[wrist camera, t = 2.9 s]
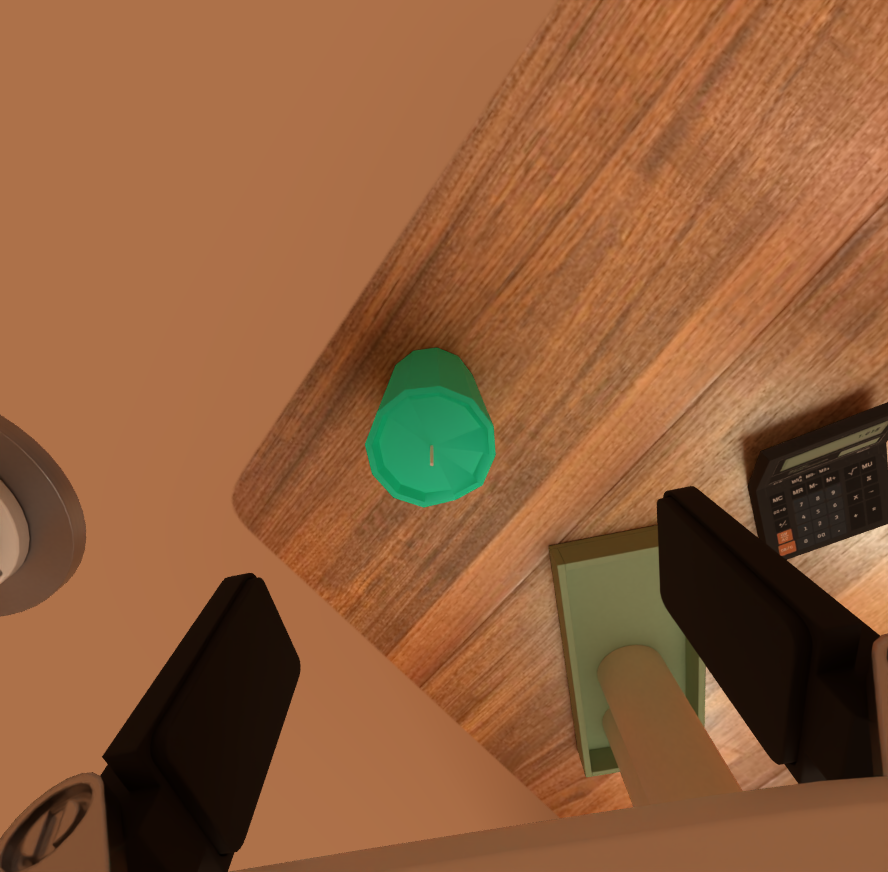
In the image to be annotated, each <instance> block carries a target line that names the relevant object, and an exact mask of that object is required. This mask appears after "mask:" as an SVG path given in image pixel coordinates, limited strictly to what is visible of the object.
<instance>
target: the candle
mask: <svg viewBox="0 0 888 872" xmlns="http://www.w3.org/2000/svg"><path fill="white" fill-rule="evenodd" d="M365 447H366V451H367V455H368V459H369V463H370V468H371V472H372V474H373V476H374V477H375V478H376V479H377V480H378V481H379V482H380V483H381V484H382V486H383V487H384V488H385V489H386V490H387V491H388V492H389V493H390V494H391V496H392V497H393V498H396V499H399V500H402V501H405V502H408V503H412V504H415V505H418V506H421V507H428V506H432V505H437V504H441V503H445V502H449V501H453V500H456V499H458V498H460V497H462V496H464V495H466V494H467V493H469V492H471V491H473V490H475V489H477V488H478V487H480V486H482V485H483V483H484V481H485V478H486V476H487V474H488V471H489V469H490V467H491V465H492V462H493V460H494V458H495V455H496V454H495V439H494V426H493V424H492V421H491V419H490V416H489V414H488V411H487V409H486V407H485V404H484V402H483V399H482V397H481V395H480V392H479V390H478V387H477V385H476V382H475V380H474V378H473V375H472V374H471V372H470V371H469V370H468V368H467V367H466V366H465V364H464V363H463V362H462V360H461V359H460V358H459V356H457V355H454V354H452V353H449V352H447V351H444V350H442V349H440V348H437V347H436V348H429V349H422V350H414V351H413V352H411V353H410V354H409V355H407V356H406V357H405V358H404V359H402V360H401V361H400V362H399V363H397V364H396V365H395V368H394V370H393V373H392V375H391V378H390V380H389V383H388V386H387V388H386V391H385V393H384V396H383V398H382V401H381V404H380V406H379V409H378V411H377V414H376V416H375V419H374V422H373V424H372V427H371V430H370V432H369V435H368V438H367V440H366V443H365Z"/></svg>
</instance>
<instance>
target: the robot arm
mask: <svg viewBox="0 0 888 872" xmlns="http://www.w3.org/2000/svg"><path fill="white" fill-rule="evenodd" d="M657 523H658V551H659V578H660V595H661V599H662V601H663V604H664V606H665V608H666V609H667V611H668V612H669V614H670V615H671V617H672V618H673V619H674V621H675V622H676V624H677V625H678V627H679V628H680V629H681V631H682V632H683V634H684V635H685V637H686V638H687V640H688V641H689V642H690V644H691V645H692V647H693V648H694V650H695V651H696V652H697V654H698V655H699V657H700V658H701V660H702V661H703V662H704V664H705V665H706V667H707V668H708V670H709V671H710V672H711V674H712V675H713V677H714V678H715V680H716V681H717V683H718V684H719V685H720V687H721V688H722V690H723V691H724V693H725V694H726V695H727V697H728V698H729V700H730V701H731V703H732V704H733V705H734V707H735V708H736V710H737V711H738V713H739V714H740V716H741V717H742V718H743V720H744V721H745V723H746V724H747V726H748V727H749V728H750V730H751V731H752V733H753V734H754V736H755V737H756V738H757V740H758V741H759V743H760V744H761V746H762V747H763V749H764V750H765V751H766V753H767V754H768V755H769V757H770V758H771V759H772V760H773V761H774V762H775V763H777V764H778V765H780V764H785V766H786V767H787V768H788V770H789V771H790V772H791V774H792V775H793V777H794V778H795V779H796V781H797V782H798V784H795V785H788V786H780V787H772V788H765V789H757V790H750V791H742V792H734V793H727V794H719V795H712V796H705V797H699V798H692V799H686V800H679V801H672V802H666V803H659V804H653V805H646V806H639V807H633V808H626V809H620V810H613V811H606V812H600V813H593V814H587V815H580V816H574V817H567V818H560V819H554V820H547V821H541V822H535V823H528V824H522V825H516V826H509V827H503V828H497V829H490V830H484V831H478V832H471V833H465V834H459V835H453V836H446V837H440V838H433V839H427V840H421V841H415V842H408V843H402V844H396V845H389V846H384V847H377V848H371V849H365V850H358V851H352V852H346V853H341V854H334V855H328V856H322V857H316V858H310V859H304V860H298V861H292V862H286V863H279V864H274V865H268V866H262V867H255V868H249V869H243V870H237V871H231V872H888V634H884V635H881V636H880V635H878V634H877V633H876V632H875V631H873V630H872V629H871V628H870V627H869V626H867V625H866V624H865V623H864V622H862V621H861V620H860V619H859V618H857V617H856V616H855V615H854V614H852V613H851V612H850V611H849V610H848V609H846V608H845V607H844V606H843V605H841V604H840V603H839V602H838V601H836V600H835V599H834V598H833V597H831V596H830V595H829V594H828V593H826V592H825V591H824V590H823V589H822V588H820V587H819V586H818V585H817V584H815V583H814V582H813V581H812V580H810V579H809V578H808V577H807V576H805V575H804V574H803V573H802V572H801V571H799V570H798V569H797V568H796V567H794V566H793V565H792V564H791V563H789V562H788V561H787V560H786V559H784V558H783V557H782V556H781V555H779V554H778V553H777V552H776V551H775V550H773V549H772V548H771V547H770V546H768V545H767V544H766V543H765V542H763V541H761V540H760V539H759V538H757V537H756V536H755V535H754V534H753V533H751V532H750V531H749V530H748V529H746V528H745V527H744V526H743V525H741V524H740V523H739V522H738V521H737V520H735V519H734V518H733V517H732V516H730V515H729V514H728V513H727V512H725V511H724V510H723V509H722V508H720V507H719V506H718V505H717V504H716V503H714V502H713V501H712V500H711V499H709V498H708V497H707V496H706V495H704V494H703V493H702V492H701V491H700V490H698V489H697V488H695V487H694V486H689V487H684V488H679V489H674V490H669V491H666V492H665V493H664V496H663V498H662V499H659V500H658V501H657ZM29 540H30V538H29V530H28V524H27V521H26V518H25V516H24V513H23V510H22V508H21V507H20V505H19V503H18V502H17V500H16V498H15V497H14V495H13V494H12V492H11V491H10V490H9V489H8V488H7V486H6V485H5V484H4V483H3V482H2V481H1V480H0V584H1V583H2V582H4V581H5V580H6V579H8V578H9V577H10V576H12V575H13V574H14V573H16V571H17V570H18V569H19V568H20V566H21V565H22V564H23V563H24V560H25V558H26V556H27V553H28V548H29ZM299 675H300V660H299V657H298V655H297V653H296V650H295V648H294V646H293V644H292V642H291V639H290V637H289V635H288V633H287V631H286V628H285V626H284V624H283V622H282V620H281V617H280V615H279V613H278V611H277V609H276V606H275V604H274V602H273V600H272V598H271V596H270V593H269V591H268V589H267V587H266V585H265V582H264V581H263V580H262V578H257V577H256V576H255V575H254V574H253V573H247V574H241V575H237V576H231V577H227V578H225V579H224V580H223V581H222V583H221V584H220V585H219V587H218V588H217V590H216V591H215V593H214V594H213V596H212V597H211V599H210V600H209V602H208V603H207V605H206V606H205V607H204V609H203V610H202V612H201V613H200V615H199V616H198V618H197V619H196V621H195V622H194V623H193V625H192V626H191V628H190V629H189V631H188V632H187V634H186V635H185V637H184V638H183V639H182V641H181V642H180V644H179V645H178V647H177V648H176V650H175V651H174V653H173V654H172V656H171V657H170V658H169V660H168V661H167V663H166V664H165V666H164V667H163V669H162V670H161V671H160V673H159V675H158V676H157V677H156V679H155V680H154V682H153V683H152V685H151V686H150V688H149V689H148V690H147V692H146V693H145V695H144V696H143V698H142V699H141V701H140V702H139V704H138V705H137V706H136V708H135V710H134V711H133V712H132V714H131V715H130V717H129V718H128V720H127V721H126V723H125V724H124V726H123V727H122V729H121V730H120V731H119V733H118V734H117V736H116V737H115V739H114V740H113V742H112V743H111V744H110V746H109V747H108V749H107V750H106V752H105V753H104V755H103V756H102V757H103V759H104V760H105V761H106V762H107V764H108V765H107V766H106V768H105V770H104V771H103V773H102V774H101V776H99V775H97V774H95V773H93V772H92V773H81V774H78V775H76V776H73V777H70V778H68V779H66V780H64V781H63V782H61V783H59V784H57V785H56V786H54V787H52V788H51V789H50V790H48V791H47V792H45V793H44V794H43V795H41V796H40V797H39V798H38V799H36V800H35V801H34V802H33V803H32V804H31V805H30V806H29V807H27V809H25V810H24V811H23V812H22V813H21V814H20V815H19V816H18V817H17V818H16V819H15V821H14V822H13V823H12V824H11V826H10V827H9V828H8V829H7V830H6V832H5V833H4V834H3V835H2V837H1V838H0V872H228V869H229V866H230V864H231V861H232V858H233V855H234V852H237V851H238V850H239V849H240V848H241V846H242V845H243V843H244V840H245V838H246V835H247V832H248V829H249V826H250V823H251V820H252V817H253V814H254V811H255V808H256V805H257V802H258V799H259V796H260V793H261V790H262V787H263V784H264V780H265V778H266V775H267V771H268V769H269V766H270V762H271V760H272V756H273V754H274V750H275V748H276V745H277V742H278V739H279V736H280V733H281V730H282V727H283V724H284V721H285V718H286V715H287V711H288V709H289V705H290V703H291V699H292V696H293V693H294V690H295V687H296V685H297V681H298V678H299Z"/></svg>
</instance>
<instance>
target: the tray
mask: <svg viewBox="0 0 888 872" xmlns="http://www.w3.org/2000/svg"><path fill="white" fill-rule="evenodd" d="M549 553H550V560H551V567H552V574H553V581H554V588H555V595H556V602H557V609H558V616H559V623H560V630H561V637H562V644H563V651H564V658H565V665H566V672H567V679H568V686H569V693H570V700H571V707H572V714H573V721H574V728H575V735H576V742H577V749H578V753H579V756H580V759H581V763H582V766H583V769H584V772H585V776H586V777H592V776H598V775H604V774H610V773H616V772H620V770H619V768H618V765H617V762H616V760H615V757H614V755H613V752H612V749H611V747H610V744H609V741H608V739H607V736H606V734H605V731H604V728H603V725H602V720H603V716H604V714H605V712H606V711H607V710H608V709H609V708H610V707H609V705H608V702H607V700H606V698H605V695H604V693H603V690H602V688H601V686H600V683H599V681H598V677H597V671H598V667H599V665H600V663H601V661H602V660H603V659H604V658H605V657H606V656H607V655H608V654H610V653H611V652H613V651H614V650H616V649H618V648H621V647H624V646H629V645H644V646H648V647H650V648H653V649H654V650H656V651H657V652H658V653H659V654H660V655H661V657H662V659H663V660H664V662H665V663H666V665H667V667H668V668H669V670H670V672H671V673H672V675H673V677H674V678H675V680H676V682H677V683H678V685H679V687H680V688H681V690H682V692H683V693H684V695H685V697H686V698H687V700H688V701H689V703H690V705H691V706H692V708H693V710H694V711H695V713H696V715H697V716H698V718H699V720H700V721H701V723H702V725H703V726H704V724H705V674H706V665H705V664H704V662H703V661H702V660H701V658H700V657H699V655H698V654H697V652H696V651H695V650H694V648H693V647H692V645H691V644H690V642H689V641H688V640H687V638H686V637H685V635H684V634H683V632H682V631H681V629H680V628H679V627H678V625H677V624H676V622H675V621H674V619H673V618H672V617H671V615H670V614H669V612H668V611H667V609H666V608H665V606H664V604H663V601H662V599H661V595H660V578H659V551H658V525H656V526H650V527H645V528H640V529H635V530H629V531H624V532H619V533H614V534H609V535H603V536H598V537H593V538H588V539H583V540H577V541H572V542H567V543H562V544H557V545H551V546H549Z"/></svg>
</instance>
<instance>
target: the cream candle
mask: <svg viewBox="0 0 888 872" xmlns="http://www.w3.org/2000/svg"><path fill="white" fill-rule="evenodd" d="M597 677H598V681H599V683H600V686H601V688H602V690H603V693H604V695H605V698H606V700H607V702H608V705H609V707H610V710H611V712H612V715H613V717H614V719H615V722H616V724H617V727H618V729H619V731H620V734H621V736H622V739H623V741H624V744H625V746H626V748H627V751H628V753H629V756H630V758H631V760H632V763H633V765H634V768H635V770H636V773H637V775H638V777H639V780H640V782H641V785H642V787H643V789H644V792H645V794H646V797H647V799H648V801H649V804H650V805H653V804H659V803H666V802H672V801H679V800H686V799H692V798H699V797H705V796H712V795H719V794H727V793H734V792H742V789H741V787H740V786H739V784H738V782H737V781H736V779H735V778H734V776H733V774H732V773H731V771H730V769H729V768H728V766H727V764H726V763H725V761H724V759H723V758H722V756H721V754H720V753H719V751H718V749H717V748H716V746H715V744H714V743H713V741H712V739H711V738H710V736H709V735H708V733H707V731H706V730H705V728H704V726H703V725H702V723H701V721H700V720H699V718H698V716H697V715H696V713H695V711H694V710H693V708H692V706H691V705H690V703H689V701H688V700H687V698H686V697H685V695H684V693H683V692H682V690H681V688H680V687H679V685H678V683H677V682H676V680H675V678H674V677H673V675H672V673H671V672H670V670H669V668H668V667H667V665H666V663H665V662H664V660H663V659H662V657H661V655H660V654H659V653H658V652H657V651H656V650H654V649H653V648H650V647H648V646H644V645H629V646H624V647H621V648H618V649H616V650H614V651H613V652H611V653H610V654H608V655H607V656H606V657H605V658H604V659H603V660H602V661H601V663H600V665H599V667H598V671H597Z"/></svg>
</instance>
